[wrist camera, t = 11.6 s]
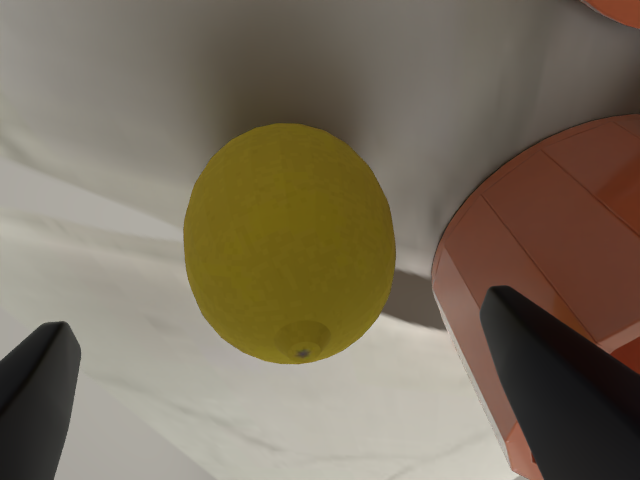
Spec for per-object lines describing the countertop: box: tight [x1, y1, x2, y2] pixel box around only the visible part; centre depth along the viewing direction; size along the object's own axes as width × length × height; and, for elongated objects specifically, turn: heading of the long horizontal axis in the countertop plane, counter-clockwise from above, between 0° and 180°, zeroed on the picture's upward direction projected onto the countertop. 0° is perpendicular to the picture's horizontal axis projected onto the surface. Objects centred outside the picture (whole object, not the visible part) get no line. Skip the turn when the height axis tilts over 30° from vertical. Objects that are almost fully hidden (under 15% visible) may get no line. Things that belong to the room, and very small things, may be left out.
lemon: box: [183, 123, 396, 364], centre depth 12 cm, size 6×6×8 cm
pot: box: [432, 114, 640, 480], centre depth 17 cm, size 13×18×8 cm
